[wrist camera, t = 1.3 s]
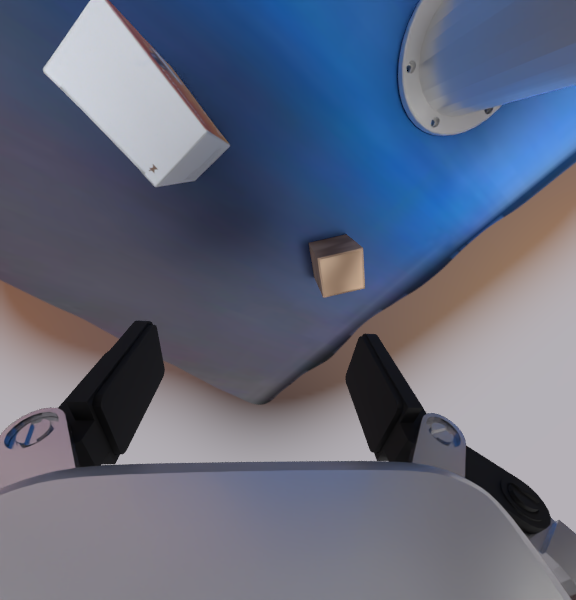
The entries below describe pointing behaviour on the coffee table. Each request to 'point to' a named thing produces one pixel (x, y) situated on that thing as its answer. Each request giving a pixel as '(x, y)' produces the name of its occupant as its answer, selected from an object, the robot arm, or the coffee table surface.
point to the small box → (134, 97)
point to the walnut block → (337, 265)
